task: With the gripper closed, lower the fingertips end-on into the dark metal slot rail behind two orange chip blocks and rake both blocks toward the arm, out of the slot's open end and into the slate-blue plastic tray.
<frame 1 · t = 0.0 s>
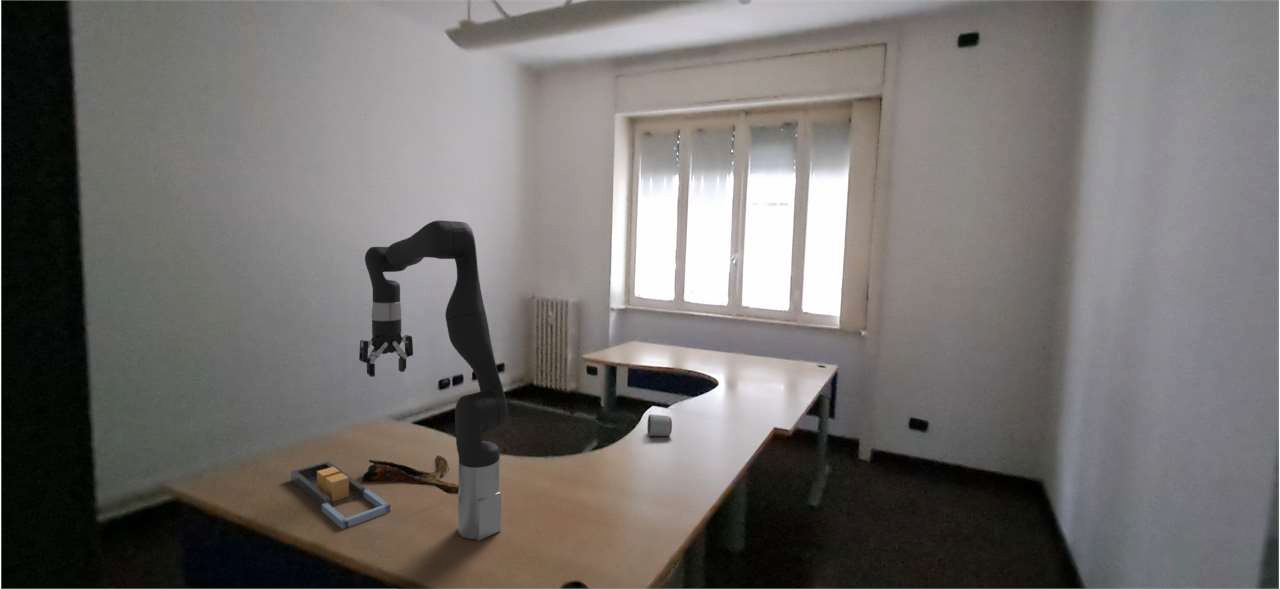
hand: (387, 373, 152), 29 cm above the table, fingers open, 8 cm apart
chip a: (337, 496, 137), point 1 cm above the table, touching slot rail
chip b: (328, 489, 141), point 1 cm above the table, touching slot rail
dark wooden branch: (426, 476, 155), on the table
slot rail: (327, 493, 141), on the table
grey cylinder: (657, 434, 195), on the table
tray: (356, 517, 130), on the table
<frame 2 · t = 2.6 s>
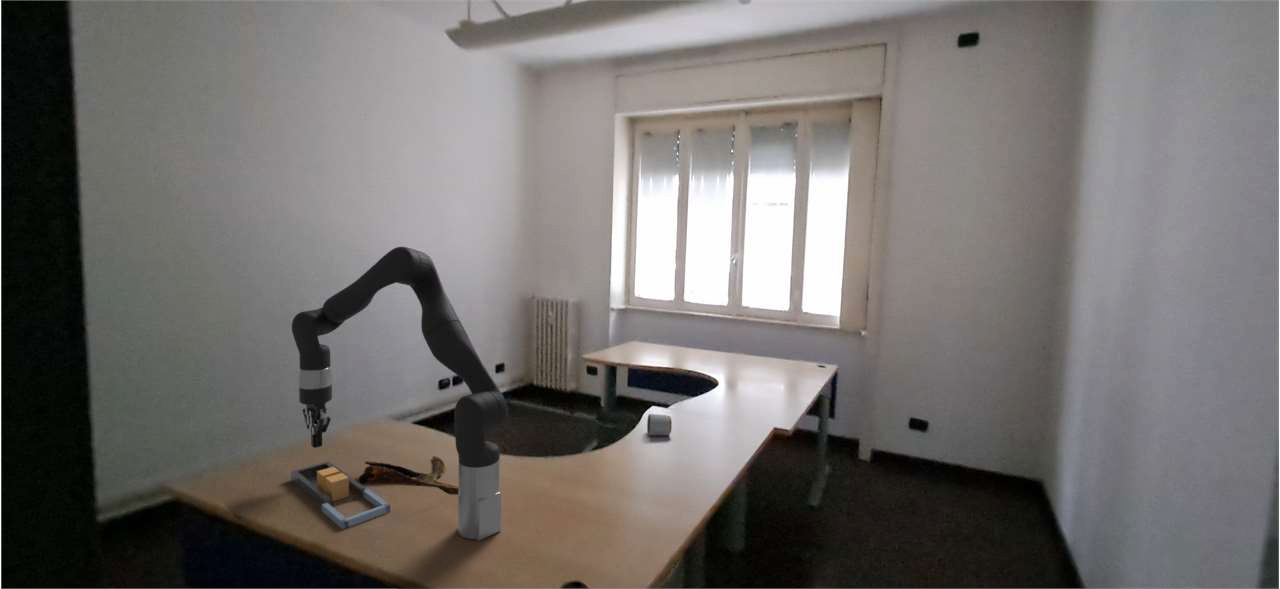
hand: (316, 446, 144), 11 cm above the table, fingers closed
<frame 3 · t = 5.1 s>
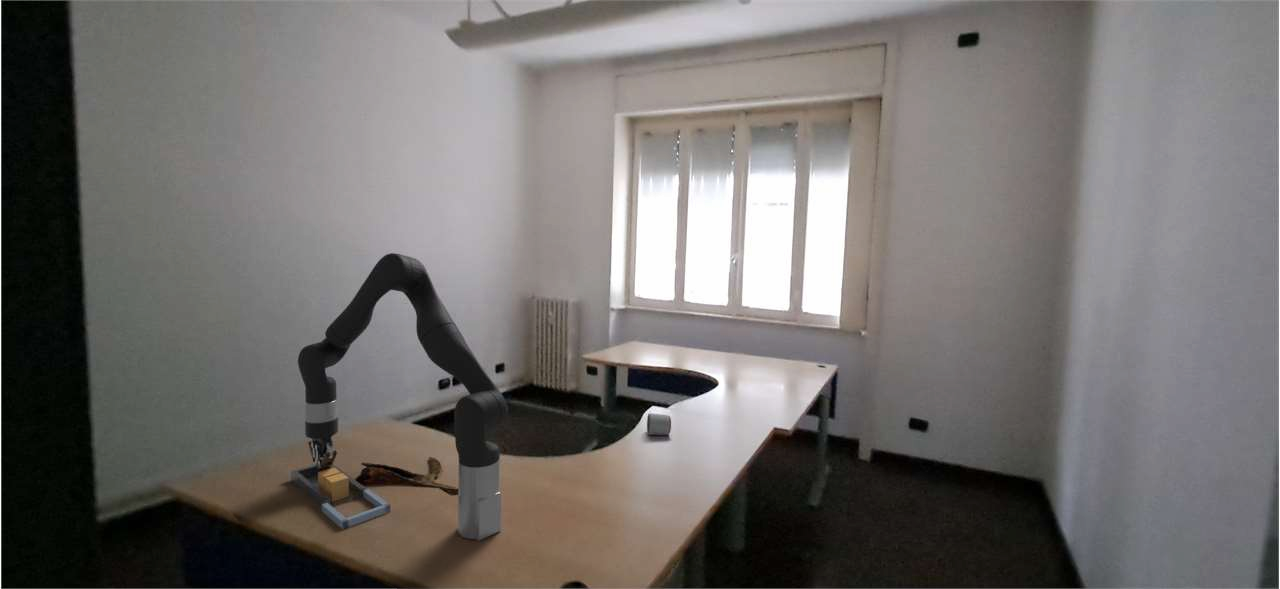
hand: (322, 479, 143), 3 cm above the table, fingers closed
chip b: (329, 490, 140), point 2 cm above the table
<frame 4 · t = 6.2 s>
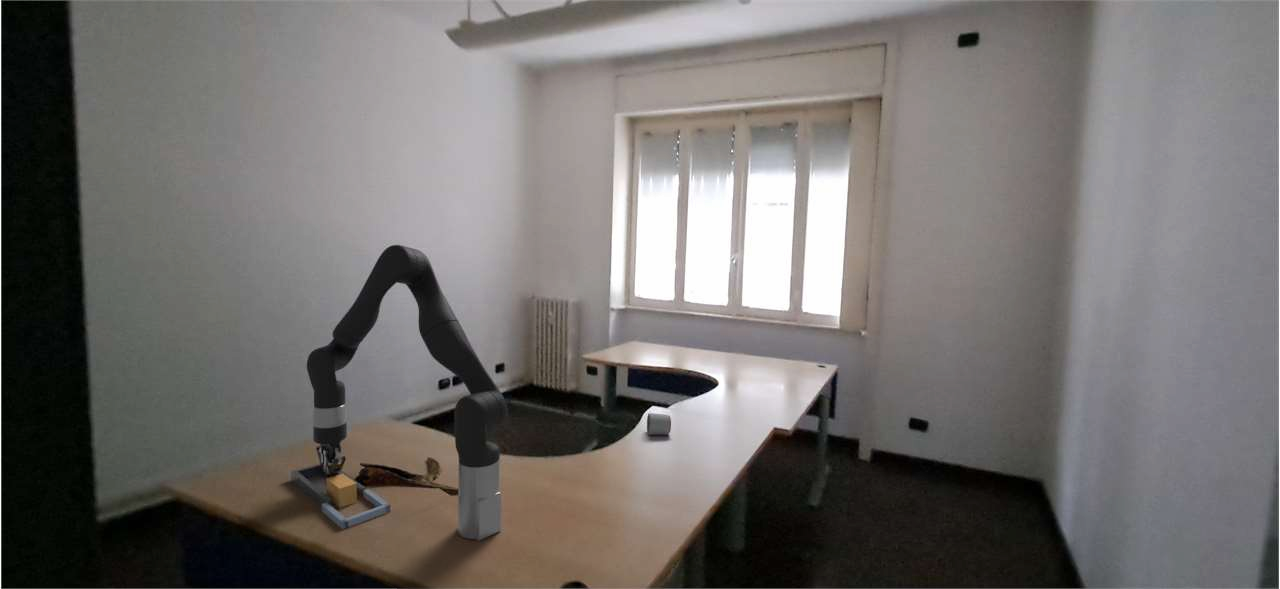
hand: (331, 485, 139), 3 cm above the table, fingers closed
chip a: (345, 502, 134), point 2 cm above the table, touching slot rail
chip b: (338, 497, 137), point 2 cm above the table, touching gripper, slot rail
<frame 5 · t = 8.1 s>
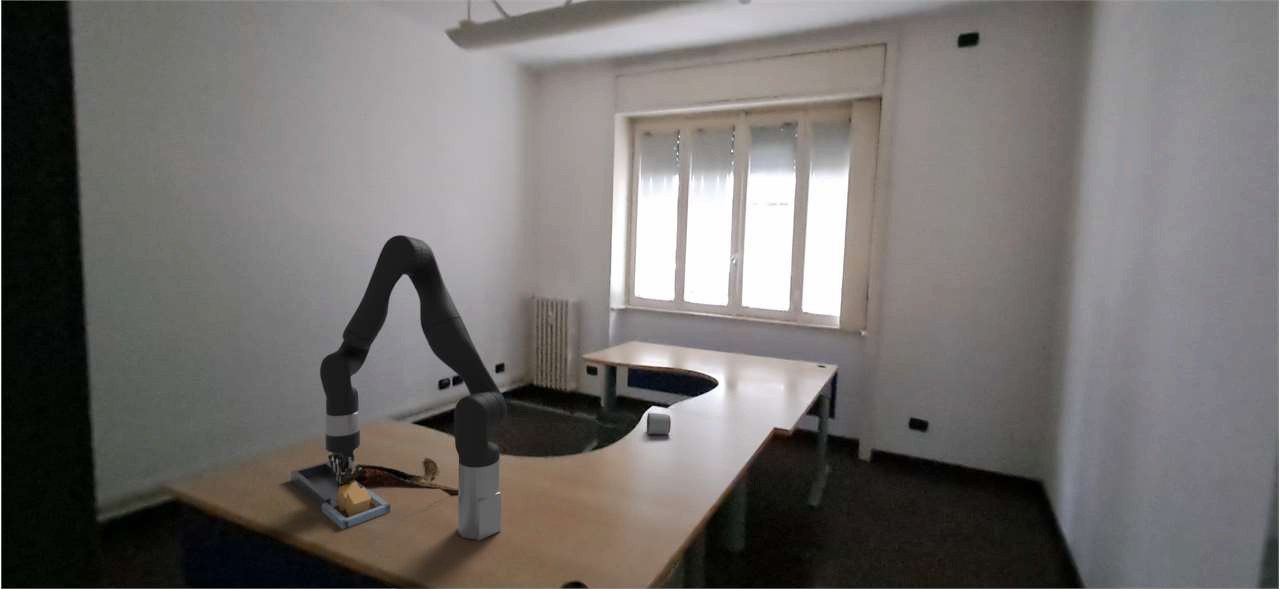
hand: (343, 495, 135), 3 cm above the table, fingers closed
chip a: (355, 510, 130), point 2 cm above the table, tilted 25°, touching tray
chip b: (347, 504, 133), point 2 cm above the table, tilted 25°, touching gripper, tray
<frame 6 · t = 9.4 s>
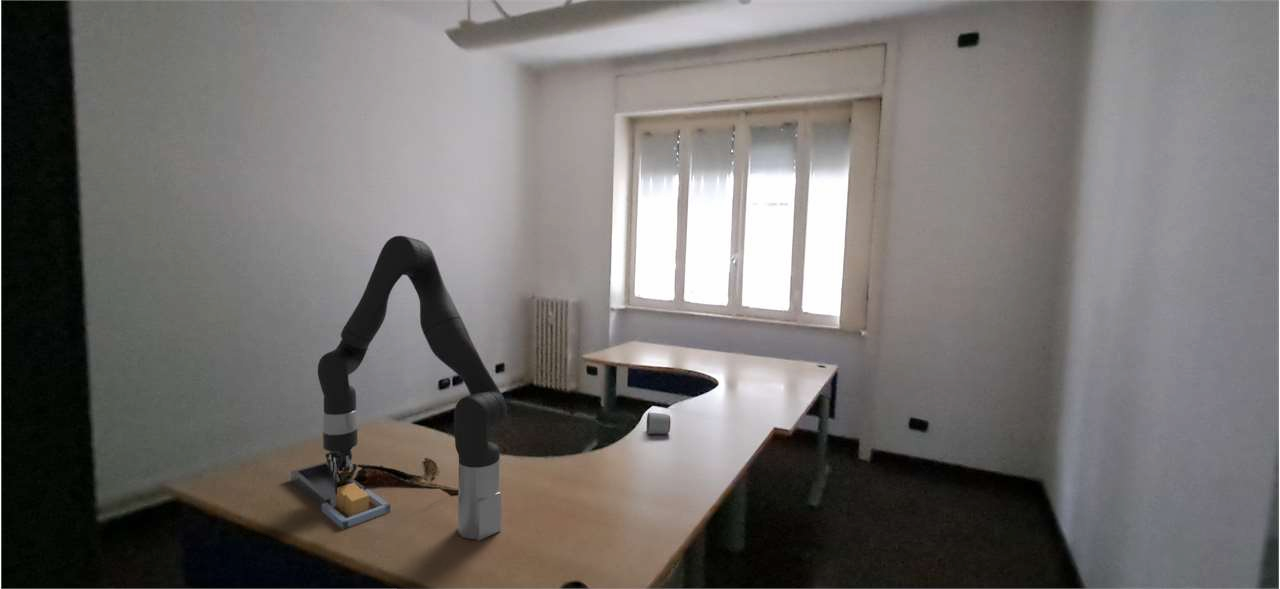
hand: (341, 494, 135), 3 cm above the table, fingers closed
chip a: (356, 513, 130), point 1 cm above the table, tilted 6°, touching chip b, tray
chip b: (348, 506, 133), point 1 cm above the table, tilted 10°, touching chip a, slot rail
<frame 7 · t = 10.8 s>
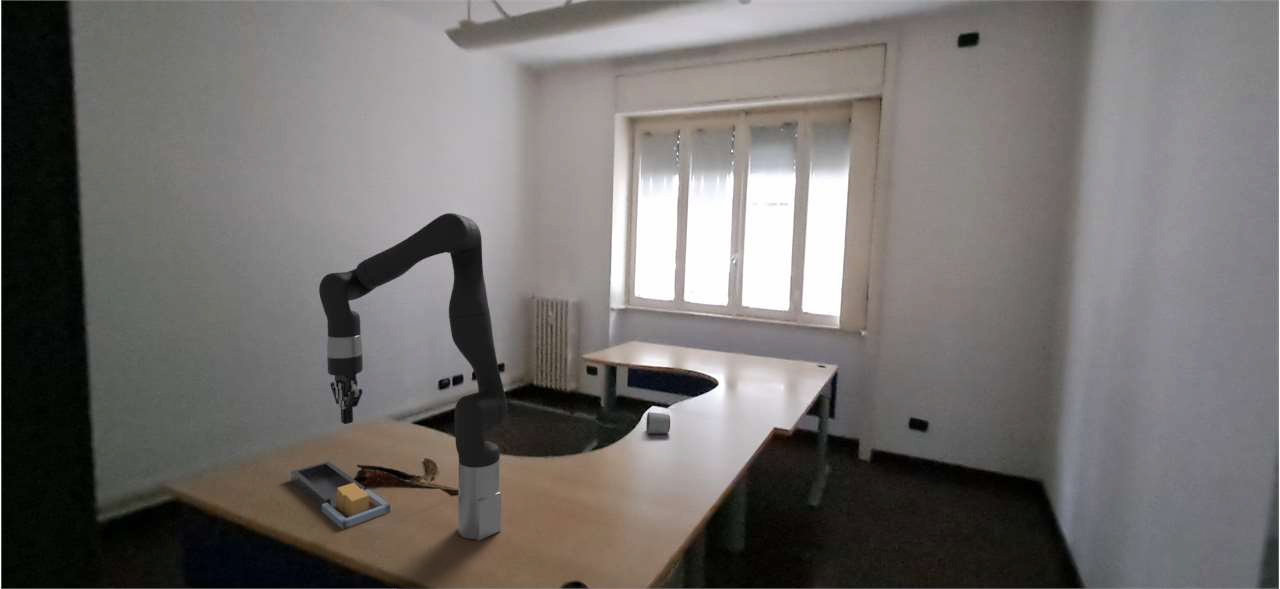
hand: (347, 422, 132), 22 cm above the table, fingers closed
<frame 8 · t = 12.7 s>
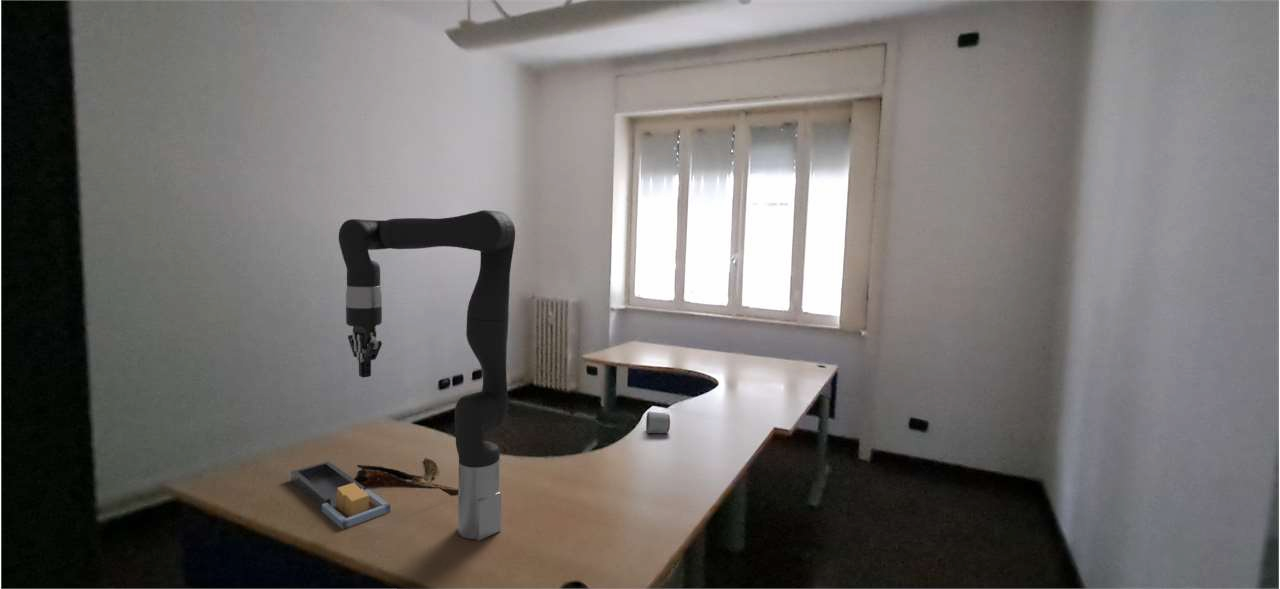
hand: (364, 376, 128), 35 cm above the table, fingers closed
at the end: chip a inside the target area on the tray (0.1 cm from its centre), point 1.0 cm above the tray's base; chip b inside the target area on the tray (4.2 cm from its centre), point 1.2 cm above the tray's base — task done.
